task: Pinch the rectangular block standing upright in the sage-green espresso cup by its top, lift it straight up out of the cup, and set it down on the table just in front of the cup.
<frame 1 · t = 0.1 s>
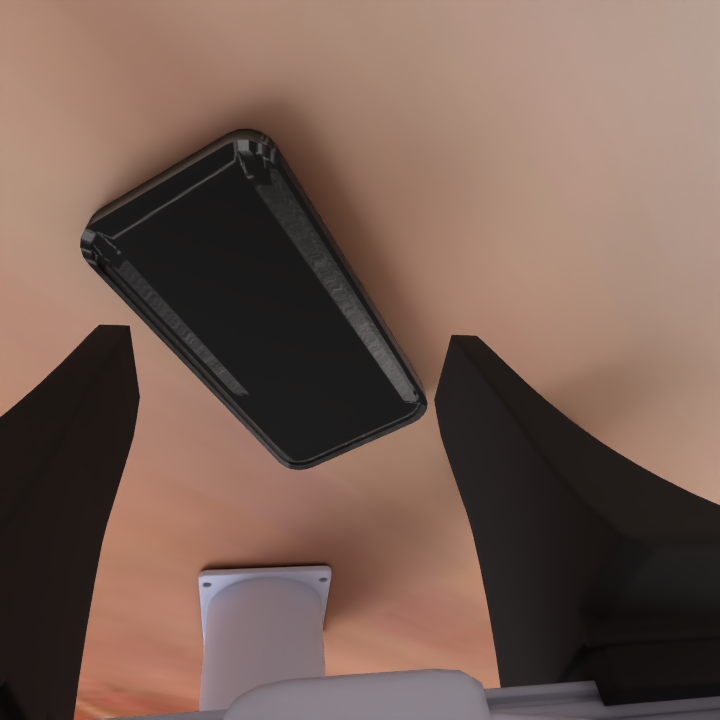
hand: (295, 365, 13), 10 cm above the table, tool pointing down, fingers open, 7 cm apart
phone: (277, 322, 25), on the table
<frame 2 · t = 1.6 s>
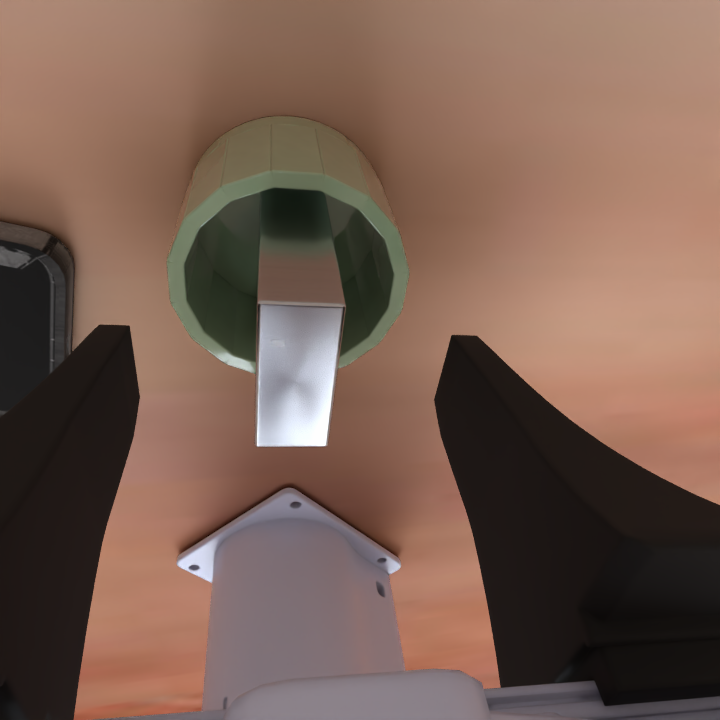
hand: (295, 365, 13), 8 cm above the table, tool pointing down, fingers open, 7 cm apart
cup: (287, 216, 20), on the table, touching rectangular block
rectangular block: (287, 228, 19), point 1 cm above the table, touching cup
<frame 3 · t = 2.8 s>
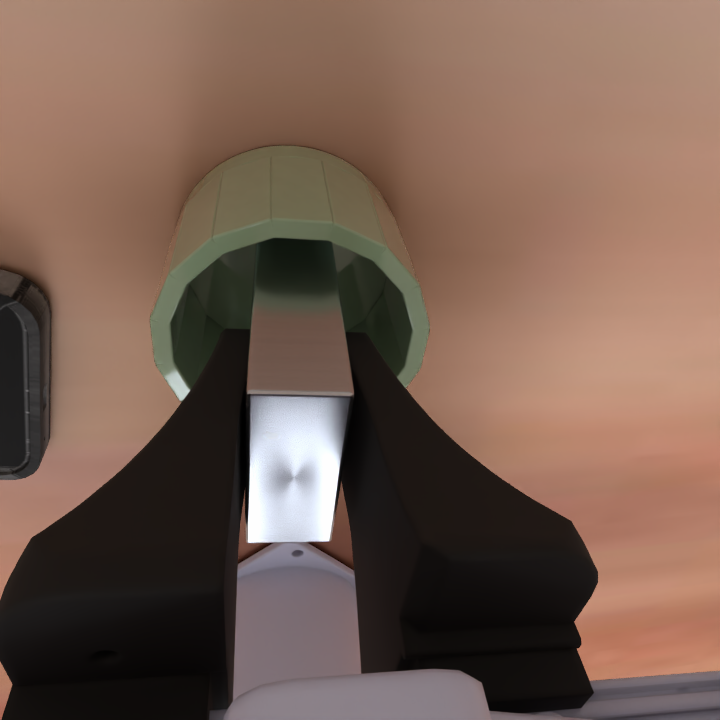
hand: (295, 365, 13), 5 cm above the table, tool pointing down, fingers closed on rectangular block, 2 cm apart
cup: (289, 254, 18), on the table, touching rectangular block
rectangular block: (289, 270, 17), point 1 cm above the table, touching cup, gripper
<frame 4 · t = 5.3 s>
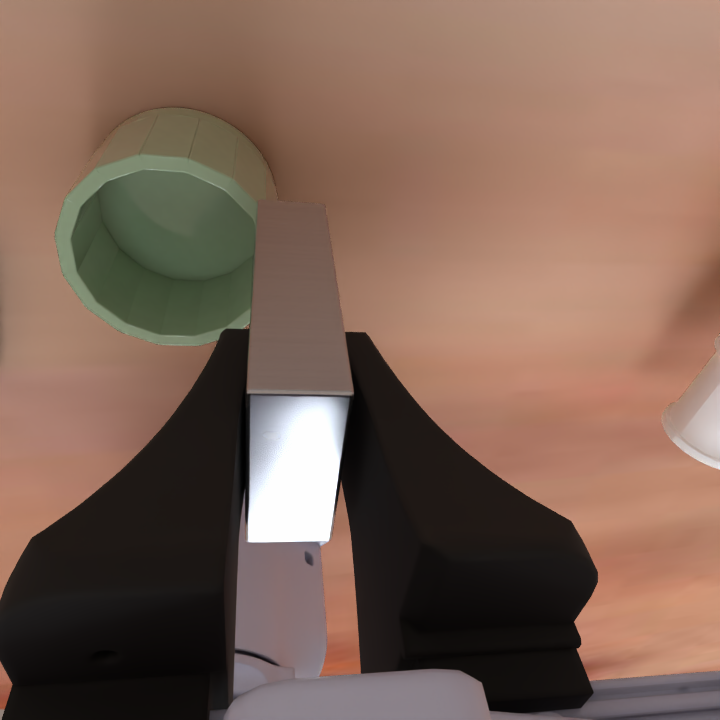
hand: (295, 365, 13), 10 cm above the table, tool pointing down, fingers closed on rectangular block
cup: (187, 200, 21), on the table
rectangular block: (288, 269, 17), point 6 cm above the table, touching gripper
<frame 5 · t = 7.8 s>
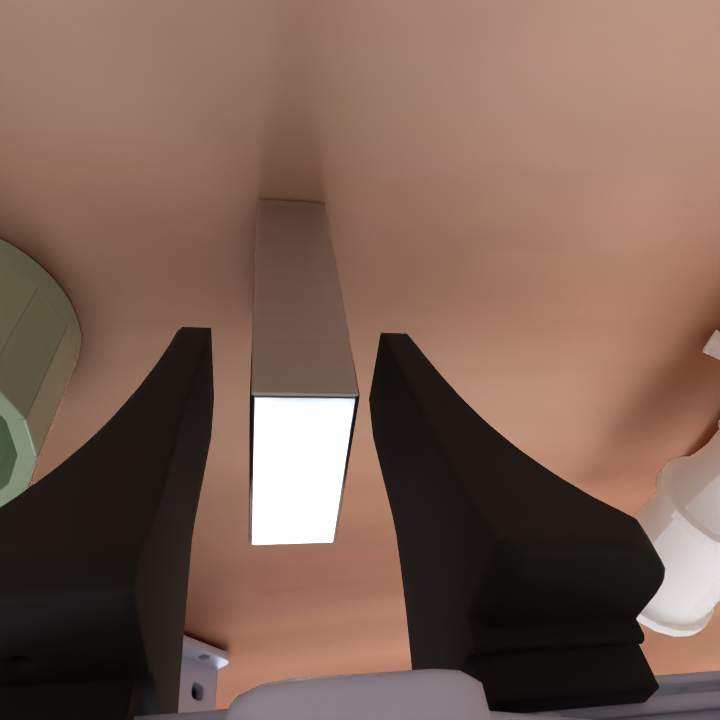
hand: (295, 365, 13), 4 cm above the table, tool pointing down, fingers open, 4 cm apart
rectangular block: (288, 269, 17), on the table
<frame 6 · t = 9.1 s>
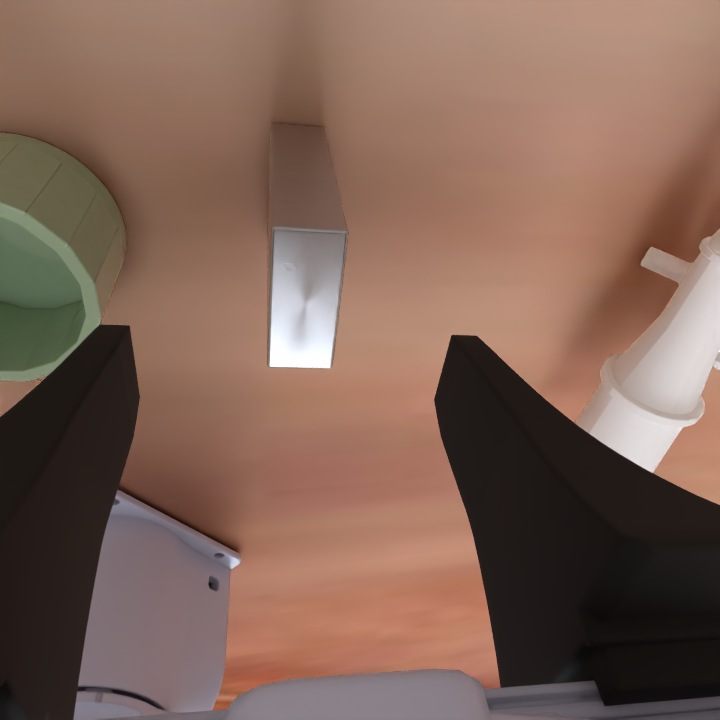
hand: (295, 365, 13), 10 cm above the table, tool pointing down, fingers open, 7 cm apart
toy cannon: (660, 276, 25), on the table
cup: (28, 226, 21), on the table
rectangular block: (294, 185, 21), on the table
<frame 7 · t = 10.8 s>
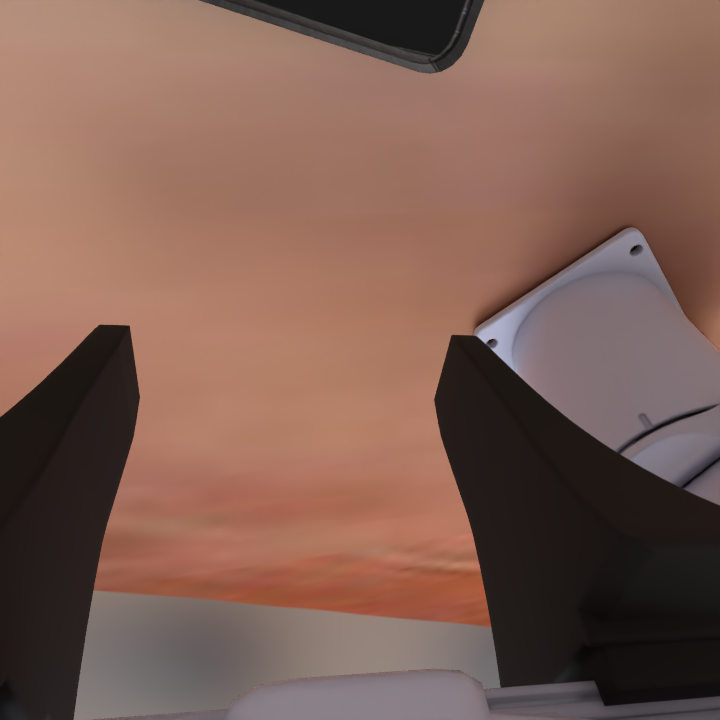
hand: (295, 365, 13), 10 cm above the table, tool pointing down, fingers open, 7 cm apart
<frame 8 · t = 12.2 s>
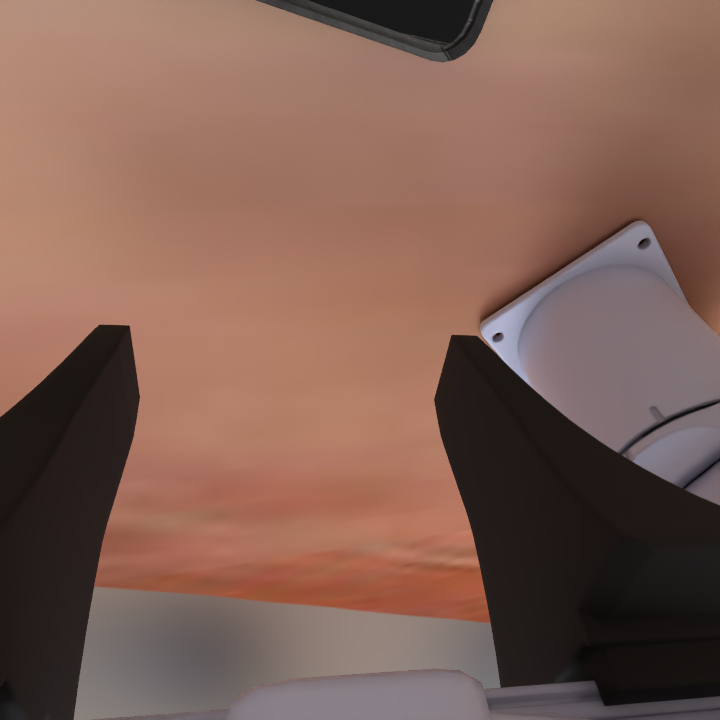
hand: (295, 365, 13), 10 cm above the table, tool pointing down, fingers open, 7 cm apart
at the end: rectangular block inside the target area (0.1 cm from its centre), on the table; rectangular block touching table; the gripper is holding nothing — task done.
